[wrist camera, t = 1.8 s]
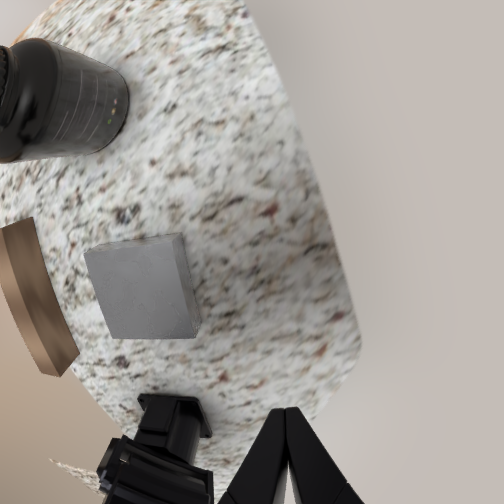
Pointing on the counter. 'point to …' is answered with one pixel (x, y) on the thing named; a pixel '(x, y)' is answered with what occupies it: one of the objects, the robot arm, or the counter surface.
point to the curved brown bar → (34, 299)
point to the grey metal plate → (145, 288)
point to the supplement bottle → (56, 102)
